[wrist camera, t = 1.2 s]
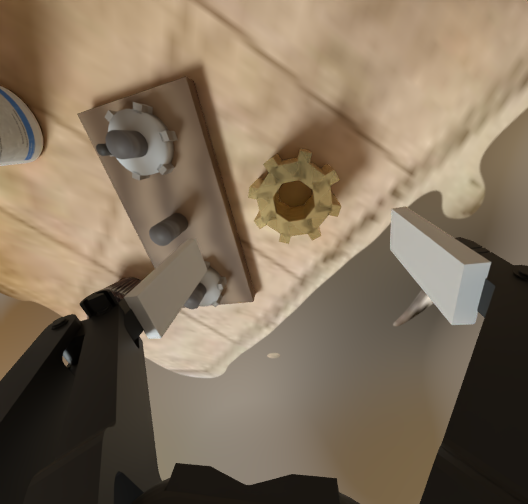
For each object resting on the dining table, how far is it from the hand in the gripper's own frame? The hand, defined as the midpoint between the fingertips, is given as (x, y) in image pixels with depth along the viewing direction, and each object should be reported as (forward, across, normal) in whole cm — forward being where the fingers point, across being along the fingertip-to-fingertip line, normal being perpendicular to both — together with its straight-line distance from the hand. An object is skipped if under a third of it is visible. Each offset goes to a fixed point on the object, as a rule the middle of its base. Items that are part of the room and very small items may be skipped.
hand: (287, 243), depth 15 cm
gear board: (+17, -17, -1) cm, 24 cm away
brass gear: (+17, 0, 0) cm, 17 cm away
